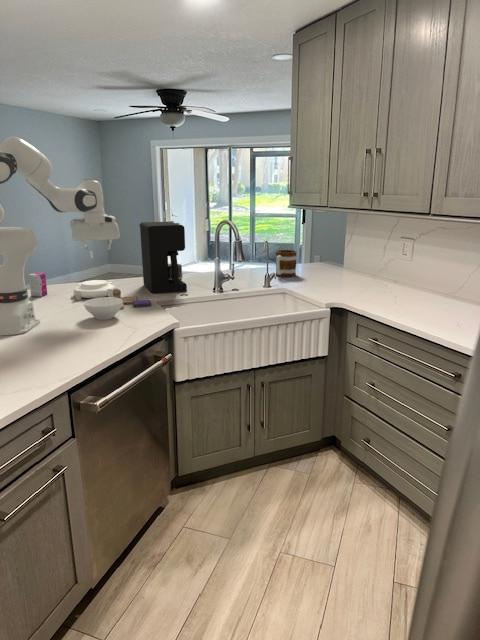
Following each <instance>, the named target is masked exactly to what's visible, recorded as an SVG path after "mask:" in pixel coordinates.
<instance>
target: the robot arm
mask: <svg viewBox="0 0 480 640" xmlns="http://www.w3.org/2000/svg"><path fill="white" fill-rule="evenodd" d="M16 173H18V174H19V175H20V176H21V177H23V178H24V179H25V180H26V182H27V183H28V184H29V185H30V186H31V187H32V188H33V189H35V190H36V191H37V192H38V194H40V195H41V196H42V197H44V199H46V200H47V201H48V203H49V205H50V206H51V208H52V209H53V210H54V211H56V212H57V213H83V218H73V219H72V220H71V221H70V223H69V226H70V228H71V232H72V233H71V235H72V238H71V239H72V240H73V241H81V242H80V243H81V244H82V246H83V247H84V250H85V251H86V252H87V251H90V248H89V245H86V241H103V240H104V241H105V240H108V242H109V244H107V245H106V250H107V251H108V250H111V249H112V248H111V246H112V243H113V240H119V239H120V238H121V232H120V228H119V225H118V223H117V222H116V217H115V216H113V215H110V214H108V213H106V212H105V208H104V193H103V188H102V185H101V183H100V181H98V180H94V179H82V180H81V183H80V184H78V186H76V187H75V188H68V187H67V188H66V187H65V188H63V187H58V186H56V185H54V183H52V182H51V181H50V177H52V173H53V166H52V163H51V161H50V159H49V158H48V157H47V156H45V154H44V153H42V151H40V150H39V149H37V148H36V147H35V146H33V145H32V144H30V143H28V142H27V141H26V140H24V139H22V138H20V137H19V136H9V137H7V138H5V139H4V140H3V141H2V142H1V144H0V185H2V184H5V183H6V182H8V181H9V180H10V179H11V178H12V177H13V175H14V174H16ZM4 218H5V210H4V208H3V206H2V204H1V203H0V223H1V222H2V221H3V220H4ZM38 243H39V240H38V236H37V235H36V233H35V232H34V231H33V229H30V228H26V227H19V226H0V256H3V261H2V264H0V337H1V336H14V335H20V334H26V333H27V332H29V331H30V330H32V329H33V328H35V326H37V325H39V323H41V320H40V319H39V318H37V317H36V313H35V308H34V303H33V302H32V301H31V300H30V299H29V293H28V289H27V287H26V283H25V266H26V263H27V261H28V260H29V257H30V256H31V255H32V254H34V253H35V251H37V249H38Z"/></svg>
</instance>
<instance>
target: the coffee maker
mask: <svg viewBox="0 0 480 640" xmlns="http://www.w3.org/2000/svg"><path fill="white" fill-rule="evenodd" d="M138 226H139V229H140V230H139V232H140V233H139V235H140V247H141V262H142V263H141V264H142V277H143V286H144V287H145V288H146V290H148V292H149V293H150V294H152V295H160V294H172V293H182V292H187V291H188V287H187V285H188V284H187V283H185V282H184V281H183V267H182V263H178V257H177V256H179V252H183V251H185V249H186V236H185V235H186V233H185V232H186V231H185V226H184V225H183V224H181V223H180V222H175V221H172V220H171V221H147V222H145V221H143V222H140V224H139V225H138ZM169 257H170V263H169Z"/></svg>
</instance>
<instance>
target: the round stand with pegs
mask: <svg viewBox="0 0 480 640" xmlns="http://www.w3.org/2000/svg"><path fill="white" fill-rule="evenodd" d="M113 283H114V282H113V281H107V280H104V279H91V280H85V281H83V282H82V283H77V286H76V287H74V289H73V294H74V296H75V301H82V300H83V299H94V298H101V297H113V290H114V289H117V288H116V286H115V285H114V284H113Z"/></svg>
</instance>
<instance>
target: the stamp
mask: <svg viewBox="0 0 480 640" xmlns="http://www.w3.org/2000/svg"><path fill="white" fill-rule="evenodd" d="M121 294H122V292H121V289H119V288H116V289H114V290H113V297H115V298H120V299H121V297H122V295H121ZM124 306H125V305H124V303H122V306H121V308H120V309H119V310H124V309H125V308H124Z"/></svg>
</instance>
